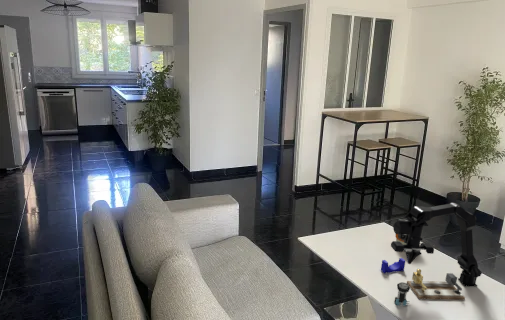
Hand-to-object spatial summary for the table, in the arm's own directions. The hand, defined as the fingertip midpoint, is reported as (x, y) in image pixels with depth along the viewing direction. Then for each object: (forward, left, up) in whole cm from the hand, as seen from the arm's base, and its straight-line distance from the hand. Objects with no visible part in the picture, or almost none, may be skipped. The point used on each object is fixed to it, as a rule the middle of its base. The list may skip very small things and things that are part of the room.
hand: (408, 263), depth 184 cm
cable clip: (0, -16, -13) cm, 21 cm away
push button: (+7, +13, -13) cm, 20 cm away
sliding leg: (-6, +3, -11) cm, 13 cm away
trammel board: (-14, +3, -13) cm, 19 cm away
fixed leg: (-23, +3, -11) cm, 25 cm away
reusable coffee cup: (-19, -43, -13) cm, 48 cm away
